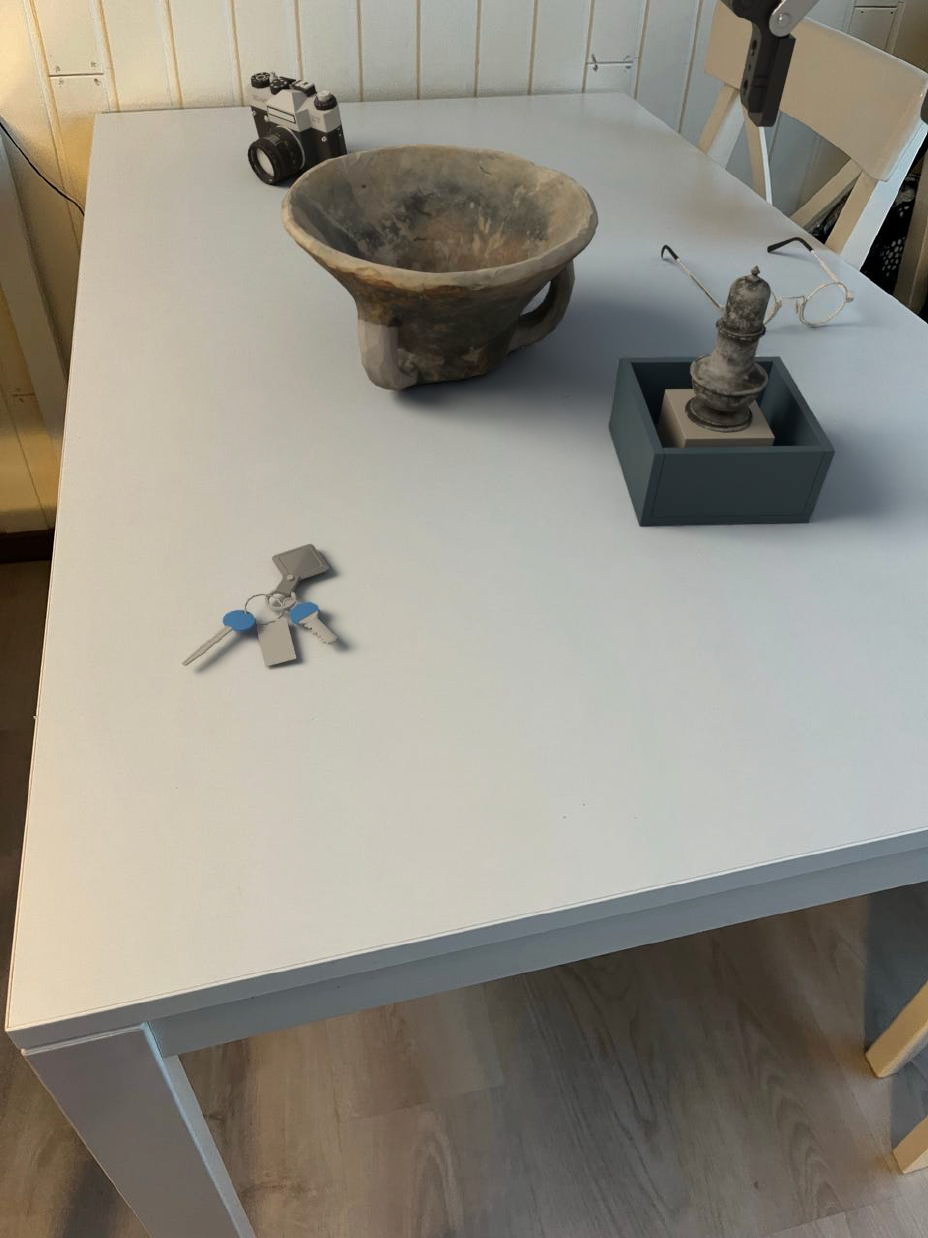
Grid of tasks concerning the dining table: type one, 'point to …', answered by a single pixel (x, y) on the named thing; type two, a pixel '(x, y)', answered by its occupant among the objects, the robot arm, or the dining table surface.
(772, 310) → the eyeglasses
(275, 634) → the key chain
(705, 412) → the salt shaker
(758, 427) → the block
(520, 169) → the bowl
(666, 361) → the crate
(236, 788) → the dining table surface
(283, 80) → the camera
